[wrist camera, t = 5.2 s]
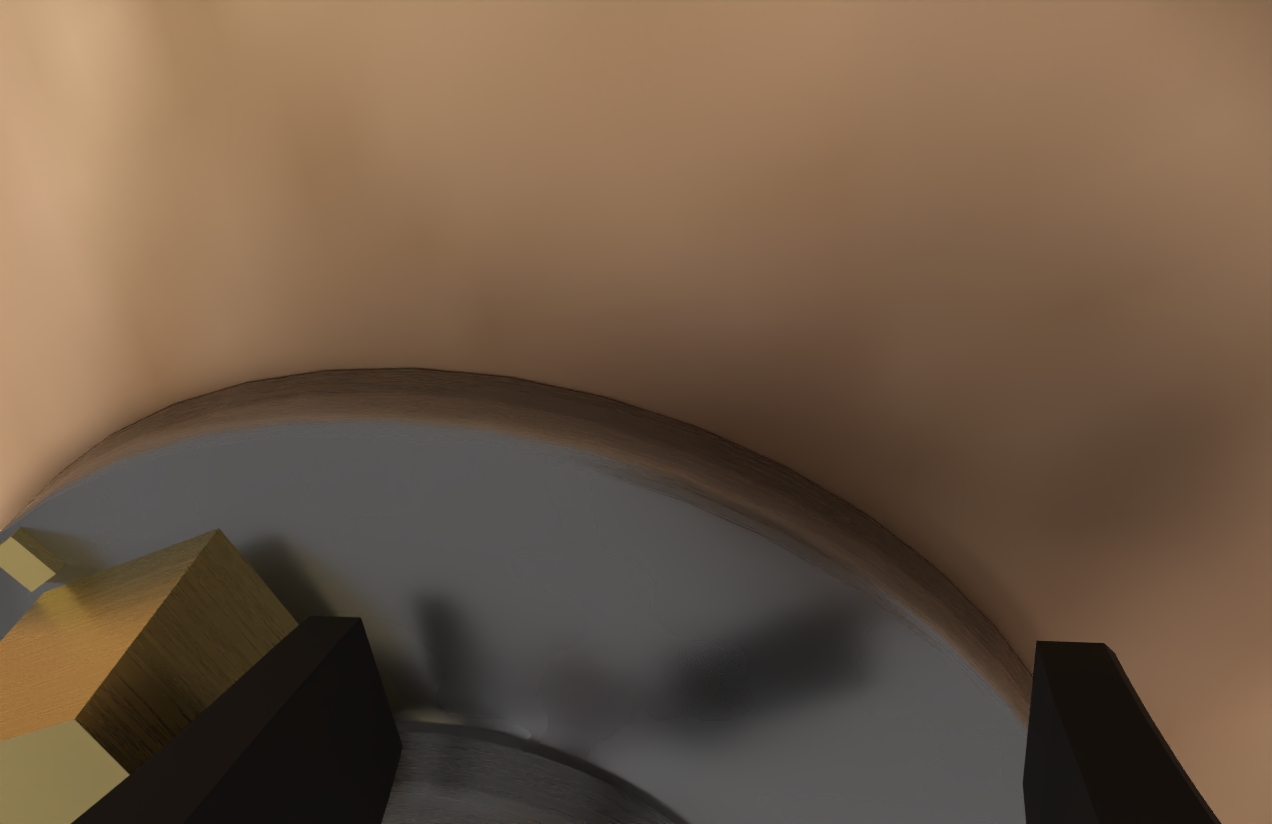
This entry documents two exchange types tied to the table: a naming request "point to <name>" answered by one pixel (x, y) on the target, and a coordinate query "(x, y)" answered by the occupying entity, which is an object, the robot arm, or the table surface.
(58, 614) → the ring nut
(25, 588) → the flange plate
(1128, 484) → the table surface
